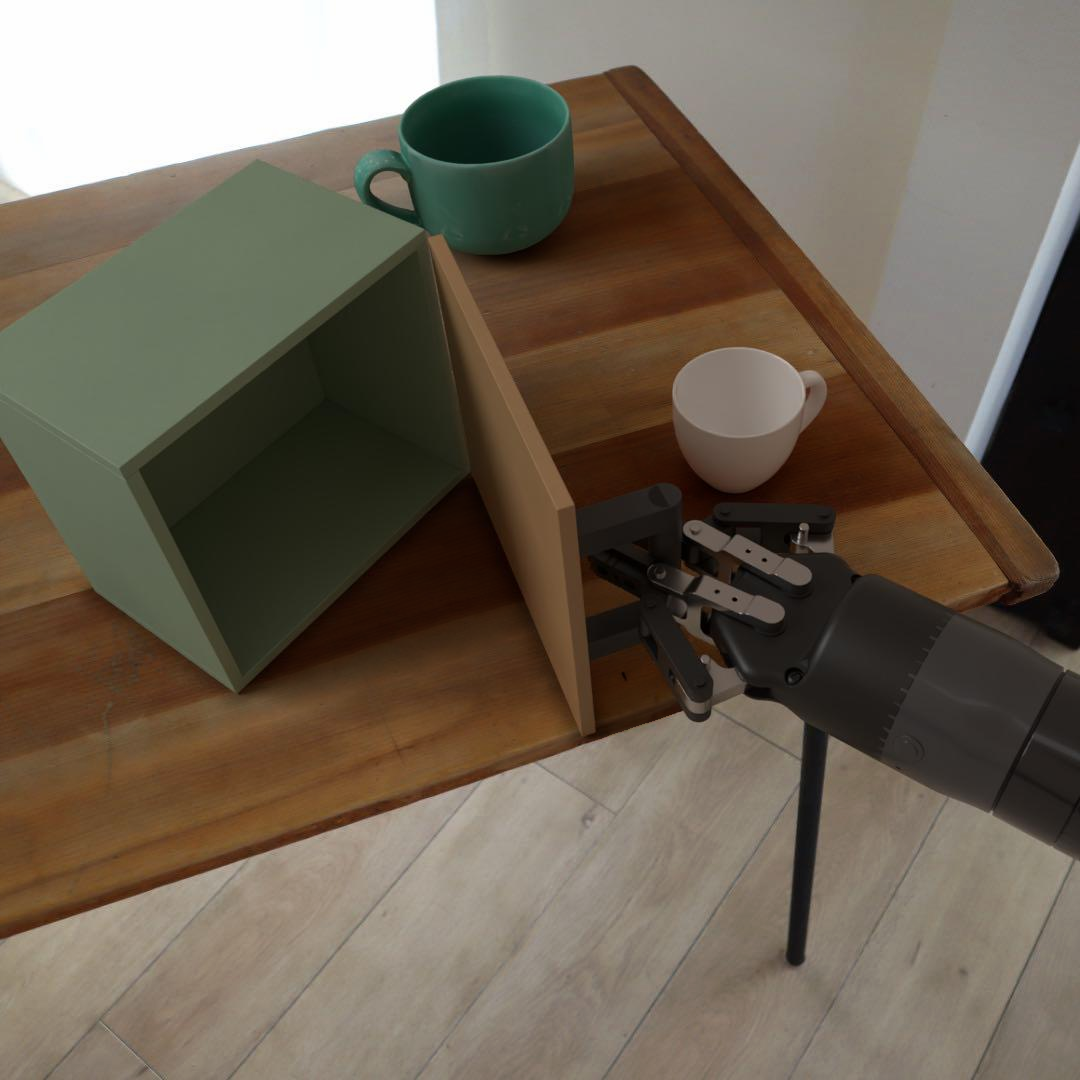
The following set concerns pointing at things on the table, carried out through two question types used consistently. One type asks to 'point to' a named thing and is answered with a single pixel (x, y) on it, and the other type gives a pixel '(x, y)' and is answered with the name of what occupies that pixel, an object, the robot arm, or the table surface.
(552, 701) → the table surface
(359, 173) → the mug
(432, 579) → the table surface
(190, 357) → the cupboard
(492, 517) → the cupboard door
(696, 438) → the cup
